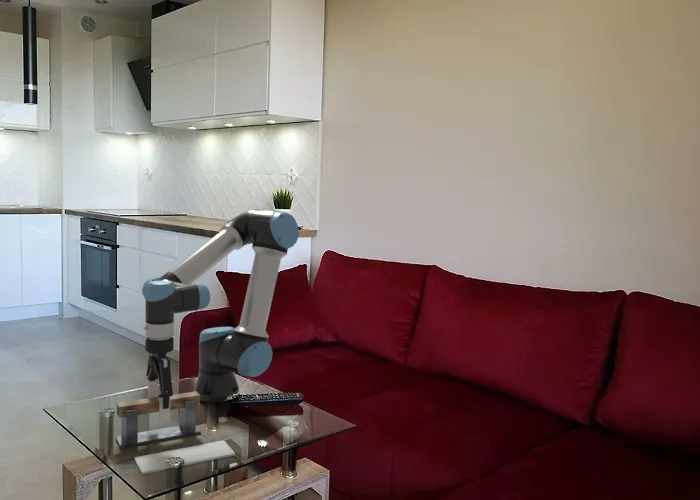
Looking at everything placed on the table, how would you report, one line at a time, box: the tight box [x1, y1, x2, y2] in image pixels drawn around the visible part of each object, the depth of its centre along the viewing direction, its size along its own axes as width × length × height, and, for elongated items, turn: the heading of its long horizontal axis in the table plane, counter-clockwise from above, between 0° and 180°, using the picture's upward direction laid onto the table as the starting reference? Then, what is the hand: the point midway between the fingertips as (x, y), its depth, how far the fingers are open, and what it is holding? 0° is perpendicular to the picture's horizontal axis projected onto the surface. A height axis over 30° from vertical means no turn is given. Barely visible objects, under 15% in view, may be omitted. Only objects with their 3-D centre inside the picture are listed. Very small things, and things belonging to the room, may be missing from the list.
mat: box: [134, 439, 236, 475], centre depth 160 cm, size 24×9×1 cm, turn 121°
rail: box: [116, 390, 201, 419], centre depth 171 cm, size 22×4×3 cm, turn 121°
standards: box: [115, 400, 202, 449], centre depth 171 cm, size 22×6×10 cm, turn 121°
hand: (158, 410), depth 171 cm, fingers open, 13 cm apart
